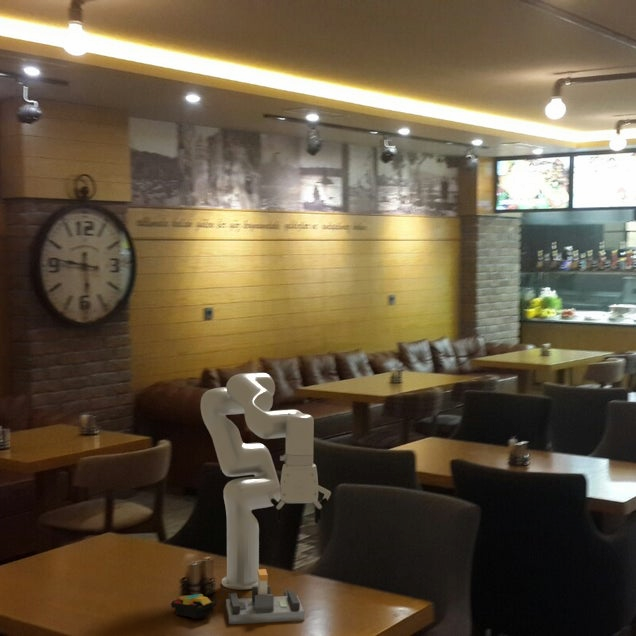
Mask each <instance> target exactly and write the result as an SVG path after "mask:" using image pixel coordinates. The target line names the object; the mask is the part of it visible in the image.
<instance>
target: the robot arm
mask: <svg viewBox="0 0 636 636" xmlns="http://www.w3.org/2000/svg"><path fill="white" fill-rule="evenodd" d="M275 392H276V384H275V381H274V379H273V377H272V376H271V375H270V374H268V373H266V372H250V373H249V372H248V373H247V372H246V373H238V374H235V375H233V376H231V377H230V378H229V379H228V380H227V382H226V386H223V387H222V386H221V387H216V388H215V387H214V388H211V389H209V390H207V391H205V392H204V393H203V394H202V395H201V396H202V397H201V399H200V412H201V417H202V420H203V423H204V425H205V427H206V429H207V430H208V432H209V434H210V436H211V439H212V443H213V446H214V449H215V453H216V456H217V460H218V464H219V467H220V470H221V471H222V473H223V474H224V475H225V476H226V477H239V478H234V479H232V480H230V481H228V482H227V483H226V484H225V486H224V488H223V491H222V492H223V500H224V506H225V514H226V576H224V577H223V578H222V579H221V585H222V586H223V587H225V588H227V589H231V590H237V591H238V590H239V591H242V590H252V586H258V569H260V563H259V562H260V559H259V558H260V556H259V555H260V552H259V551H260V549H259V548H260V546H259V545H260V541H259V539H260V538H259V537H260V536H259V535H260V527H259V522H258V519H257V518H256V517H255V515H254V514H253V513H252V511H253V510H257V509H263V508H264V509H265V508H269V507H270V508H271V507H274V508H276V521H279V522H278V523H279V524H280V525H282V524H283V521H284V520H283V513H284V510H283V506H284V505H285V504H314V505H315V506H314V523H315V524H319V521H321V512H322V511H321V509H322V508H323V507H324V506H325V504H326V503H328V500H329V499H330V496H331V495H332V492H331V491H330V490H328V489H327V488H325V487H322V486H321V485H319V480H318V479H319V478H318V469H317V465H316V464H315V463H314V436H315V435H314V433H315V432H314V431H315V428H314V425H315V423H314V422H315V419H314V416H312V415H311V414H308V413H303V412H302V411H300V410H298V409H278V410H271V408H272V407H273V403H274V397H273V396H274V395H275ZM242 414H244V419H245V424H246V426H247V428H248V429H249V430H250V432H252V433H254V434H255V436H257V437H258V438H261V439H264V440H270V439H280V438H281V439H282V438H285V453H284V454H283V455H280V456H279V461H282V462H284V463H283V465H282V469H281V475H280V481H279V478H278V474H277V470H276V468H275V464H274V462H273V458H272V455H271V453H270V450H269V449H268V448H267V446H266V445H264V444H263V443H260V442H250V443H249V442H248V443H245V442H243V439H242V437H241V433H240V430H239V428H238V426H237V425H236V424H235V423H234V422H233V421H232V420H231V419H229V418H228V417H227V415H242ZM249 475H250V476H249ZM251 475H254V476H251ZM241 476H242V477H241ZM243 476H247V477H243ZM319 492H320V493H322V494H324V495H323V497H322V498H321V499H320V500H318V499H319Z"/></svg>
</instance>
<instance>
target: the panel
mask: <svg viewBox="0 0 636 636" xmlns="http://www.w3.org/2000/svg"><path fill="white" fill-rule="evenodd" d="M296 596H297V598H298V600H299V603H300V610H293V609H292V607H291V604H290V602H289V599H288V597H287V596H284V595H283V596H282V595H281V596H280V595H279V596H274V594H272V593H271V585H268V584H267V595H258V586H252V589H251V597H242V598H238V601H239V605H240V613H233V611H232V606H231V602H230V599H228V598H226V599H225V609H226V615H227V621H228V624H229V625H236V624H237V625H243V624H244V625H245V624H258V623H259V624H260V623H279V622H296V621H305V609H304V607H303V605H302V603H301V600H300V599H299V596H298V595H296Z"/></svg>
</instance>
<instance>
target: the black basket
mask: <svg viewBox="0 0 636 636" xmlns="http://www.w3.org/2000/svg"><path fill="white" fill-rule="evenodd" d="M216 605H217V602H216V601H215V600H213V599H210V598H208V597H207V596H204V594H203V593H197V594H196V593H195V594H192V595H190V594H189V595H181V596H179V597H178V599H175V600H172V602H171V603H170V606H171V608H172V609H173V608H174V610H175V611H174V613H175V616H184V617H190V618H191V619H193V620H200V619H204V618H206V616H207V615H208V614H211V613H213V612H214V609H213V608H214V607H215V606H216Z"/></svg>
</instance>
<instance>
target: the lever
mask: <svg viewBox="0 0 636 636" xmlns="http://www.w3.org/2000/svg"><path fill="white" fill-rule="evenodd" d="M268 581H269V575H268V572H267V569H266V568H259V569H258V595H267V586H268Z"/></svg>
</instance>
